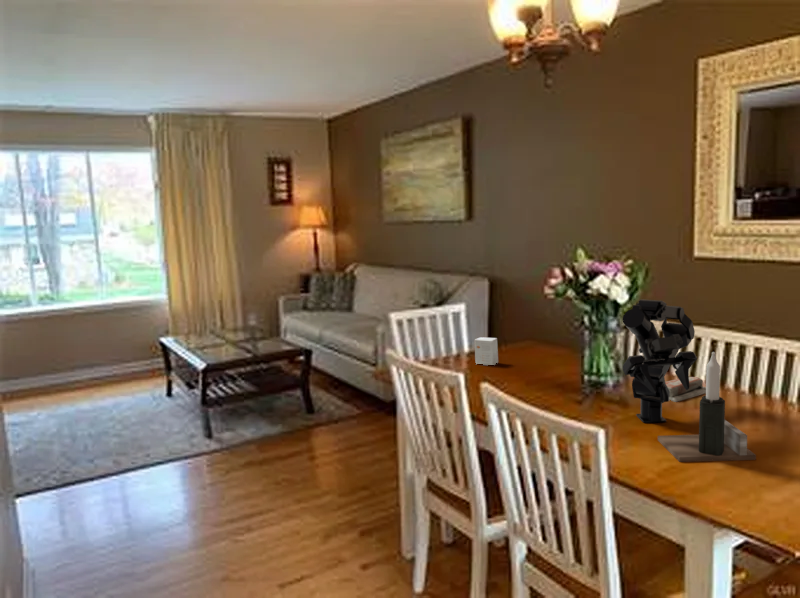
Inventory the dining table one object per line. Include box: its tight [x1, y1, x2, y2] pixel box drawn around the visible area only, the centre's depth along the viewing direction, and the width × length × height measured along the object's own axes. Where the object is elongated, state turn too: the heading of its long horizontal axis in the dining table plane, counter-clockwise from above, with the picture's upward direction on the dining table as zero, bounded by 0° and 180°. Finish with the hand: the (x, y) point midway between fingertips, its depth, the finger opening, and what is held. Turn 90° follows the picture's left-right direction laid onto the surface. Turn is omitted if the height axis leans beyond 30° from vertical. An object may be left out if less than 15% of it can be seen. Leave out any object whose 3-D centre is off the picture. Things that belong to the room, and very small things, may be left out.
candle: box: [698, 351, 726, 456], centre depth 146 cm, size 5×5×25 cm
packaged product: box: [665, 376, 706, 403], centre depth 197 cm, size 18×5×10 cm
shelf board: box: [657, 419, 757, 463], centre depth 152 cm, size 14×18×6 cm
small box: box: [474, 336, 499, 366], centre depth 247 cm, size 8×6×10 cm
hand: (671, 390), depth 157 cm, fingers open, 9 cm apart
